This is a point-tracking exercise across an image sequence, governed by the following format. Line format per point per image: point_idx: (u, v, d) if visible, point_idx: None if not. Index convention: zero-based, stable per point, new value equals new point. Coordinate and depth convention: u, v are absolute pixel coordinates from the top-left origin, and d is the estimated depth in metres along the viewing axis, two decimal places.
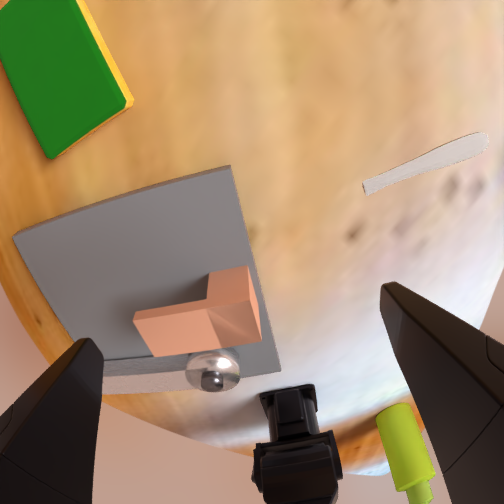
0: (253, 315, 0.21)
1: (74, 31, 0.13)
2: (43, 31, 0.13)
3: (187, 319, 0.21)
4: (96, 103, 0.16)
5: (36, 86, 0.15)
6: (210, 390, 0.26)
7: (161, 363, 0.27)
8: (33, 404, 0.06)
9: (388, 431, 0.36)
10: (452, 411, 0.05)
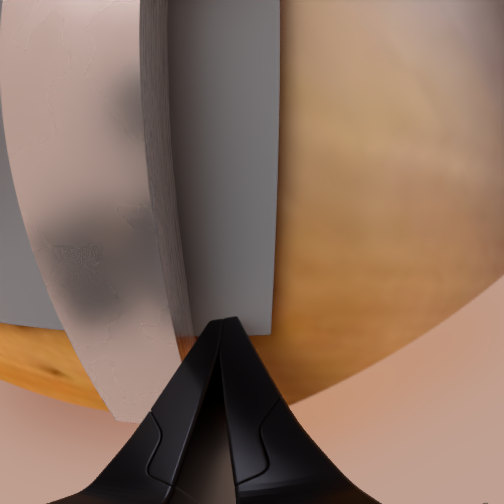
0: None
1: None
2: None
3: None
4: None
5: None
6: None
7: None
8: (190, 406, 0.05)
9: None
10: None
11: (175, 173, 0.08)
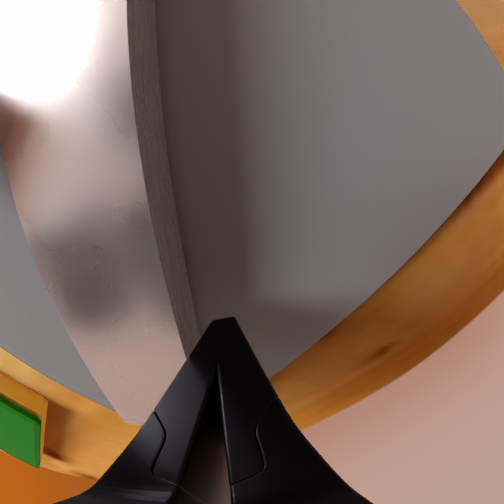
0: None
1: None
2: None
3: None
4: None
5: (14, 435, 0.14)
6: None
7: None
8: (194, 405, 0.05)
9: None
10: None
11: (394, 23, 0.06)
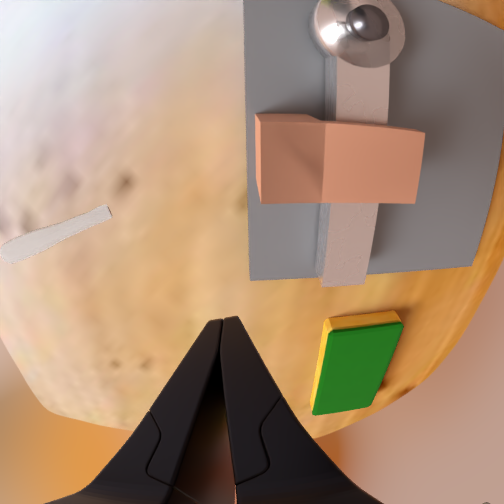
0: (262, 176, 0.15)
1: (328, 381, 0.28)
2: (344, 388, 0.29)
3: (350, 190, 0.15)
4: (346, 343, 0.25)
5: (372, 365, 0.27)
6: (383, 30, 0.11)
7: (330, 102, 0.15)
8: (189, 406, 0.05)
9: None
10: None
11: (458, 38, 0.14)
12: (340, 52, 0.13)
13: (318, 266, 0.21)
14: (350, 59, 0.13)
